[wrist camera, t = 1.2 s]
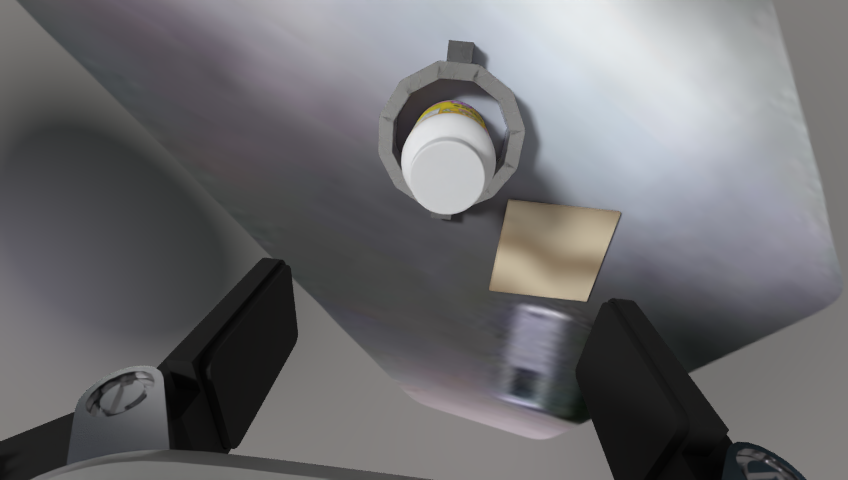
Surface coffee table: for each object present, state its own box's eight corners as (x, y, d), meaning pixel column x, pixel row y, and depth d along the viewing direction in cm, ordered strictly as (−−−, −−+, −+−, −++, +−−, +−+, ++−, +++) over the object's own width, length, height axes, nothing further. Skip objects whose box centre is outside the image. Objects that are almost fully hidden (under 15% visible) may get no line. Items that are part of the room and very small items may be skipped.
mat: (508, 199, 35) (508, 200, 35) (619, 211, 35) (620, 212, 34) (489, 288, 40) (489, 290, 40) (585, 299, 40) (586, 301, 39)
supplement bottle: (500, 144, 32) (524, 192, 21) (442, 184, 35) (436, 247, 23) (458, 81, 30) (460, 98, 19) (400, 129, 33) (370, 169, 21)
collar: (386, 34, 29) (381, 33, 27) (536, 49, 29) (543, 48, 26) (381, 205, 36) (377, 215, 34) (501, 218, 36) (503, 229, 34)
